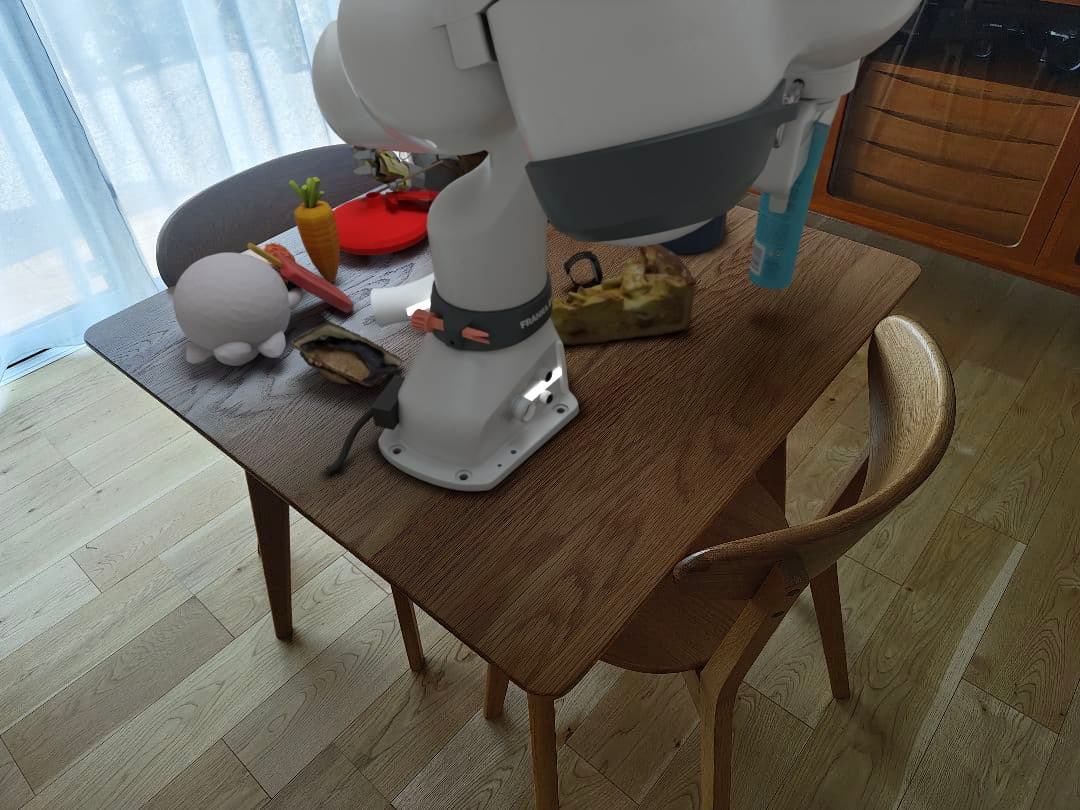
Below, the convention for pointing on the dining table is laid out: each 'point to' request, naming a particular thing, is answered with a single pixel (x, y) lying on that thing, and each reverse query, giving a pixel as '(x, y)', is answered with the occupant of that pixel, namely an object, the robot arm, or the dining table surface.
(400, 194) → the submarine toy
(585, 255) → the smartwatch
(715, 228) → the navy blue pot
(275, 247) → the figurine
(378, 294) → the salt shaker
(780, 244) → the tube
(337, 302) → the popsicle
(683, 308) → the pie slice
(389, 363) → the brown open shellfish
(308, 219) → the carrot
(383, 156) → the toy
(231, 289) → the toy
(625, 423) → the dining table surface
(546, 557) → the dining table surface
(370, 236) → the red disc with nozzle
